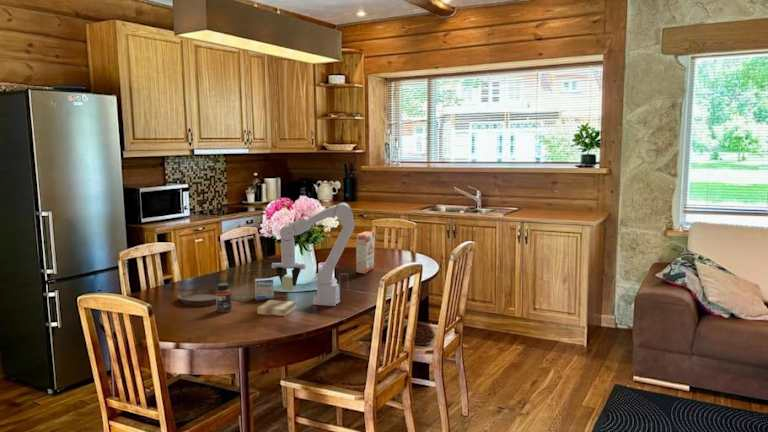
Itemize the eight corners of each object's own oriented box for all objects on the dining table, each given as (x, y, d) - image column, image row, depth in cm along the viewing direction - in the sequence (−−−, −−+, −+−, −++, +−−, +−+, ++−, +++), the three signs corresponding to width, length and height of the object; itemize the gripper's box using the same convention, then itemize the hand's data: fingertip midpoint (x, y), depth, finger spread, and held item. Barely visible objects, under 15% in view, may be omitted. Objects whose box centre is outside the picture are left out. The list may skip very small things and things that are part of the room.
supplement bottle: (225, 308, 243) (225, 281, 241) (234, 310, 239) (233, 283, 238) (213, 311, 238) (212, 284, 237) (222, 314, 234) (221, 286, 233)
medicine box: (255, 300, 255) (255, 280, 254) (255, 297, 259) (254, 278, 258) (273, 298, 257) (273, 279, 256) (273, 296, 261) (272, 277, 260)
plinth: (296, 307, 244) (295, 301, 243) (285, 315, 232) (285, 309, 232) (269, 305, 246) (269, 299, 246) (257, 313, 235) (257, 307, 234)
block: (295, 288, 250) (295, 275, 250) (292, 290, 246) (291, 278, 245) (286, 287, 251) (285, 275, 251) (282, 290, 247) (281, 277, 246)
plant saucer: (237, 298, 258) (236, 291, 258) (200, 310, 241) (200, 302, 240) (204, 292, 269) (204, 285, 268) (167, 303, 251) (167, 295, 251)
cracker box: (366, 274, 303) (366, 235, 301) (355, 274, 305) (355, 234, 302) (374, 269, 317) (374, 231, 314) (364, 268, 318) (364, 230, 316)
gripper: (307, 252, 249) (308, 283, 251) (275, 251, 252) (276, 282, 254) (301, 255, 242) (302, 287, 244) (269, 254, 245) (270, 286, 247)
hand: (289, 285), depth 248 cm, fingers closed on block, 4 cm apart
